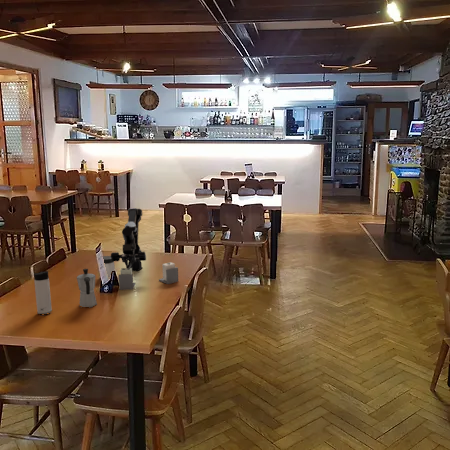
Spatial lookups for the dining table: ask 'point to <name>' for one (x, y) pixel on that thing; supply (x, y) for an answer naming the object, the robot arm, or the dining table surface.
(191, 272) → the dining table surface
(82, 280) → the coffee maker
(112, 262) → the jar
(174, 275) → the housing
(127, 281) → the housing
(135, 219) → the robot arm
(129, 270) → the block with two buttons
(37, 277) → the travel mug
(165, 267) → the plunger
